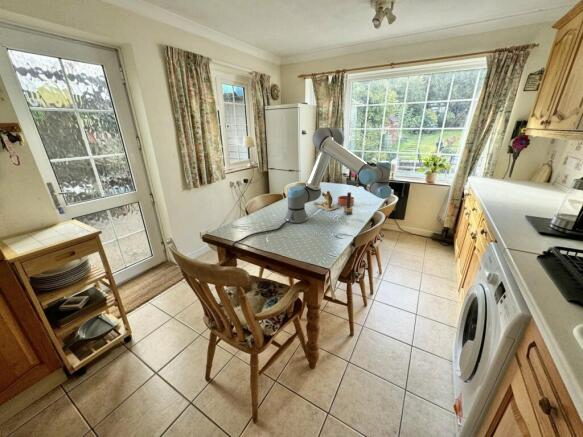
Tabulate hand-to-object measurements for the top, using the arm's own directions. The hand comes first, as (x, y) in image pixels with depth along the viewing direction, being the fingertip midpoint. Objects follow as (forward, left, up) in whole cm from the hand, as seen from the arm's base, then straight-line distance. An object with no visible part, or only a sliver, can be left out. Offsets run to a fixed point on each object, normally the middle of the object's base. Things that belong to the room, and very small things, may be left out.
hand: (356, 179), depth 157 cm
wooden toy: (-5, +31, -28) cm, 42 cm away
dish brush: (+2, +9, -28) cm, 30 cm away
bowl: (+14, +28, -28) cm, 42 cm away
